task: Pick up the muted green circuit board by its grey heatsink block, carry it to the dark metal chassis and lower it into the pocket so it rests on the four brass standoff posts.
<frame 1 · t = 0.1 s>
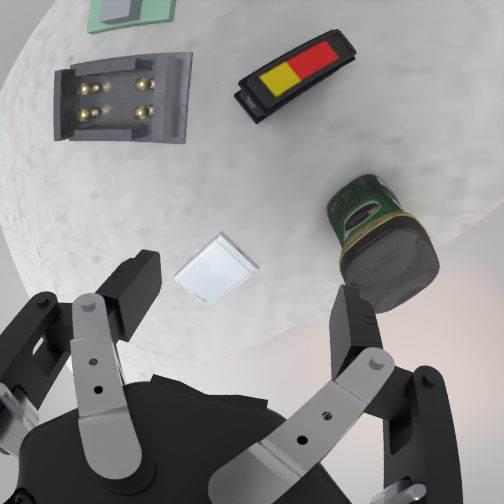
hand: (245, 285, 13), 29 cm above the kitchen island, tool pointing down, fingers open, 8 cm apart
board: (133, 9, 30), on the kitchen island
magazine: (293, 81, 33), on the kitchen island
chassis: (122, 98, 37), on the kitchen island
coffee jar: (361, 205, 40), on the kitchen island
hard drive: (215, 268, 50), on the kitchen island
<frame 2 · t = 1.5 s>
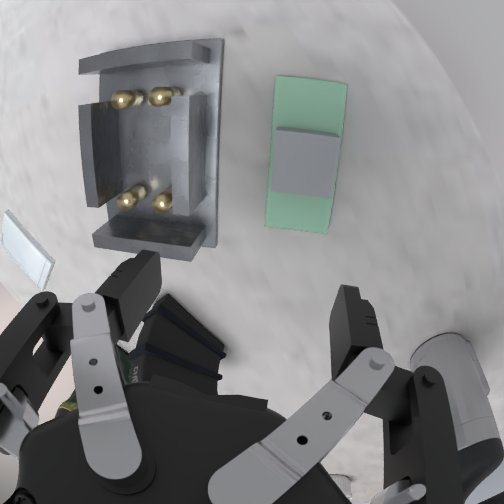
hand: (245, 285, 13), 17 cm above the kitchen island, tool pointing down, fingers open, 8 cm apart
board: (304, 153, 27), on the kitchen island
magazine: (196, 329, 40), on the kitchen island
chassis: (156, 144, 28), on the kitchen island
coffee jar: (121, 359, 47), on the kitchen island
ramekin: (329, 479, 64), on the kitchen island
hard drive: (28, 248, 39), on the kitchen island
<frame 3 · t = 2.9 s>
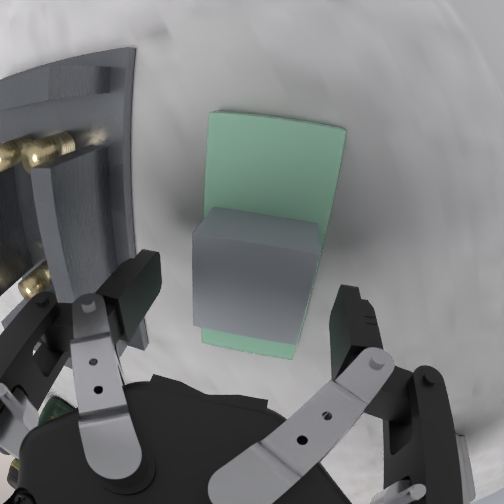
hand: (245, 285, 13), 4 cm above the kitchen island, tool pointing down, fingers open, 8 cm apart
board: (264, 242, 17), on the kitchen island
chassis: (59, 212, 18), on the kitchen island
coffee jar: (74, 414, 37), on the kitchen island
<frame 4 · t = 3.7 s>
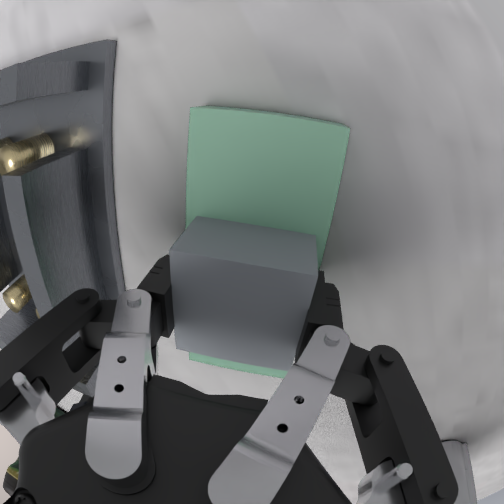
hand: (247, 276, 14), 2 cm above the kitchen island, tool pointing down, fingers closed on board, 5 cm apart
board: (255, 253, 15), on the kitchen island, touching gripper
chassis: (42, 218, 16), on the kitchen island
coffee jar: (69, 419, 36), on the kitchen island
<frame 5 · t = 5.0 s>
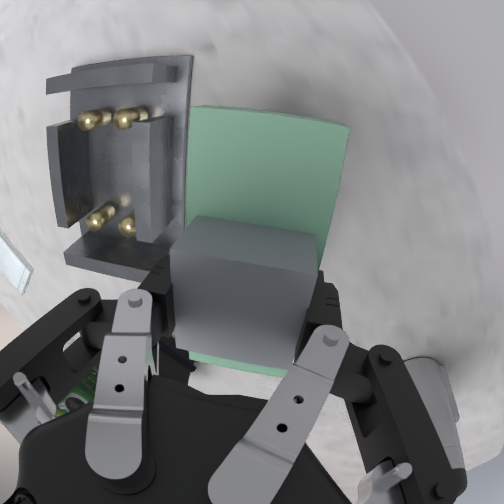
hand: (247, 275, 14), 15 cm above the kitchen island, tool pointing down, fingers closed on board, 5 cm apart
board: (255, 253, 15), point 12 cm above the kitchen island, touching gripper
magazine: (168, 341, 39), on the kitchen island
chassis: (125, 164, 27), on the kitchen island
coffee jar: (99, 364, 46), on the kitchen island
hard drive: (9, 253, 38), on the kitchen island
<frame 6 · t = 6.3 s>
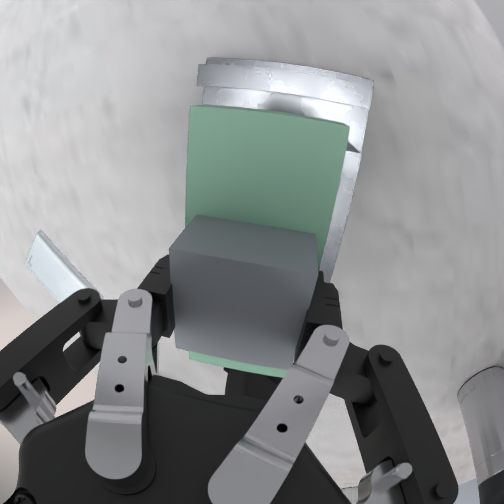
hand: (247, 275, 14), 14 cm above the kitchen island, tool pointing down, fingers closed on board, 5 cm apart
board: (255, 252, 15), point 12 cm above the kitchen island, touching gripper
magazine: (273, 371, 37), on the kitchen island
chassis: (274, 186, 25), on the kitchen island
ramekin: (351, 490, 63), on the kitchen island
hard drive: (64, 275, 36), on the kitchen island
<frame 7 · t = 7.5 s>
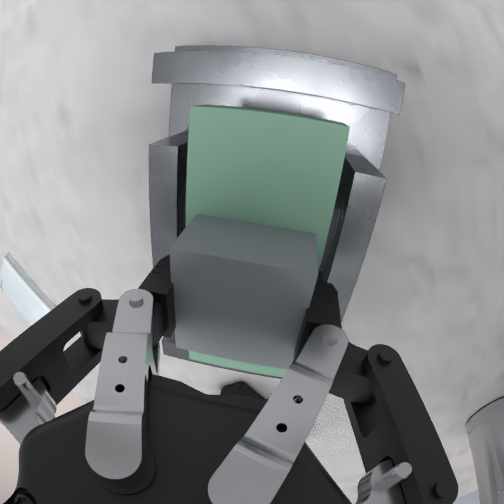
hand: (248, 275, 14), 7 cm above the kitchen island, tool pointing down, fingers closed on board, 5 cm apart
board: (255, 252, 15), point 5 cm above the kitchen island, touching gripper
magazine: (267, 410, 32), on the kitchen island
chassis: (265, 213, 20), on the kitchen island
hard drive: (37, 300, 31), on the kitchen island
when the fingers open (7 cm above the kitchen island, at t = 7.6 s): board drops 1 cm, resting on chassis.
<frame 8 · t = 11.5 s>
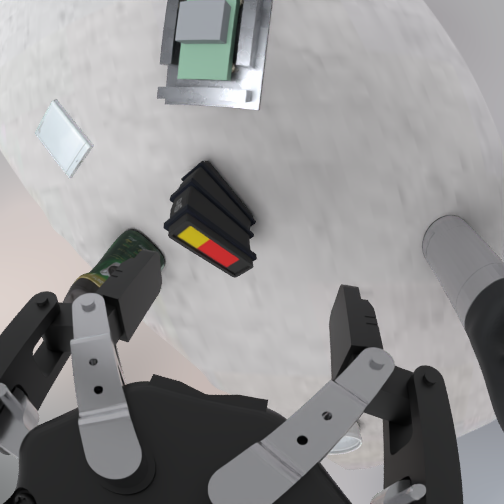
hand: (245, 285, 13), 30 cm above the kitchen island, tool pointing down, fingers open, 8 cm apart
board: (212, 28, 28), point 4 cm above the kitchen island, touching chassis
magazine: (228, 199, 44), on the kitchen island
chassis: (218, 33, 32), on the kitchen island
coffee jar: (141, 253, 51), on the kitchen island
ramekin: (337, 424, 70), on the kitchen island
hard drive: (65, 137, 42), on the kitchen island
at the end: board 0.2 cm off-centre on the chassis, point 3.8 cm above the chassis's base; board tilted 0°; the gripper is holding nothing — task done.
